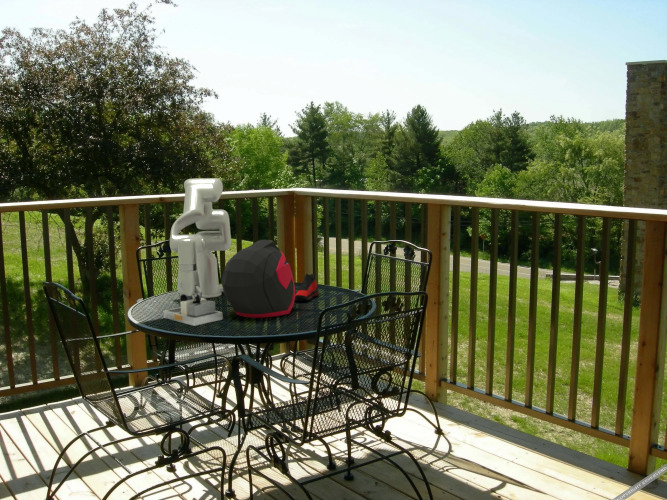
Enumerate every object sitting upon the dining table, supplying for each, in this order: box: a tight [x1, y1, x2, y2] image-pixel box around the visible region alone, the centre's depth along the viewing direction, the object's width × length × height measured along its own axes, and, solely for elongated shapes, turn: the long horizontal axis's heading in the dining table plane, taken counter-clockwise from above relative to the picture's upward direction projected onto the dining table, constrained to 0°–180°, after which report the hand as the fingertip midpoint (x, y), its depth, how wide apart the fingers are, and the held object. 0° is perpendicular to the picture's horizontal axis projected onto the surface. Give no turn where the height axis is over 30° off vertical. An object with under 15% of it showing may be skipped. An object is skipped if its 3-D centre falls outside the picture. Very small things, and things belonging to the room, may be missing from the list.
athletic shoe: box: [294, 273, 320, 302], centre depth 305 cm, size 8×20×12 cm, turn 160°
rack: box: [162, 300, 224, 327], centre depth 269 cm, size 22×14×8 cm, turn 47°
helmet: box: [220, 239, 296, 319], centre depth 277 cm, size 26×32×30 cm
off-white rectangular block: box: [179, 298, 207, 315], centre depth 270 cm, size 4×10×7 cm, turn 137°
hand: (190, 307), depth 271 cm, fingers open, 8 cm apart
